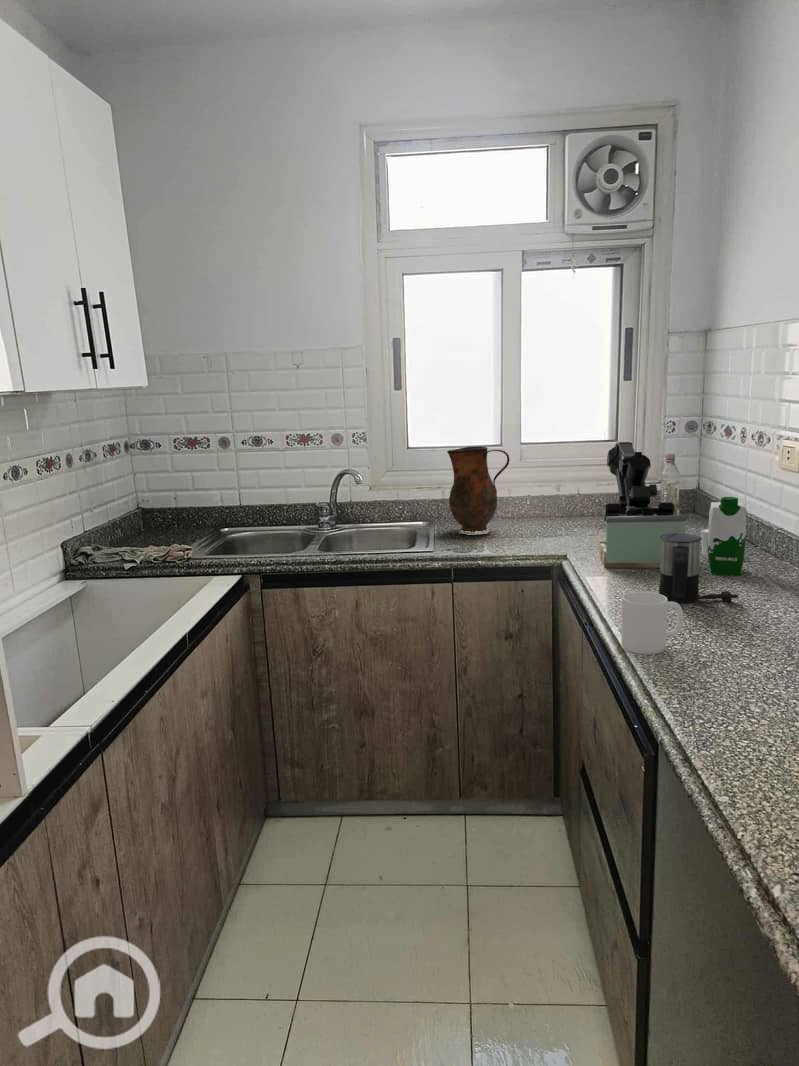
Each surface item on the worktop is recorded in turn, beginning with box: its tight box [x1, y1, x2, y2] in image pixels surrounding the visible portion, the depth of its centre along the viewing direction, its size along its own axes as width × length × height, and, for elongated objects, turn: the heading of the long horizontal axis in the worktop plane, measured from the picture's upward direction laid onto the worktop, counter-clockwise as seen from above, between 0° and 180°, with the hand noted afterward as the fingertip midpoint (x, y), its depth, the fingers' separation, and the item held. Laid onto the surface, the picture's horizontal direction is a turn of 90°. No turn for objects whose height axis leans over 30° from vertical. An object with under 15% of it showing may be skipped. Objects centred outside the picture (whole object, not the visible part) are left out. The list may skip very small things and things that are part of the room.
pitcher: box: [446, 445, 511, 532], centre depth 246 cm, size 17×21×30 cm
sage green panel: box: [605, 514, 687, 563], centre depth 192 cm, size 2×20×13 cm, turn 81°
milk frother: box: [658, 533, 739, 604], centre depth 164 cm, size 14×16×15 cm
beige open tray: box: [599, 540, 660, 569], centre depth 200 cm, size 12×21×5 cm, turn 81°
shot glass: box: [700, 528, 708, 557], centre depth 204 cm, size 7×7×7 cm
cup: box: [620, 591, 684, 656], centre depth 138 cm, size 8×12×10 cm
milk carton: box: [707, 496, 747, 576], centre depth 185 cm, size 9×9×20 cm
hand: (641, 536), depth 197 cm, fingers closed
